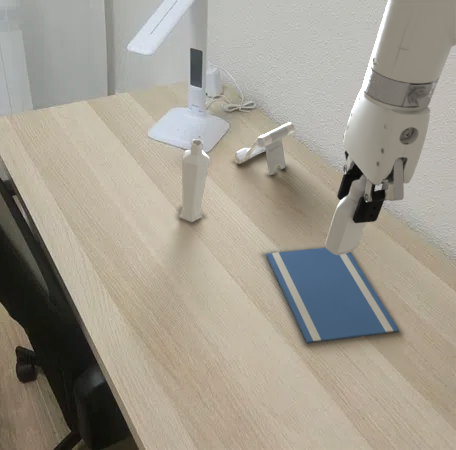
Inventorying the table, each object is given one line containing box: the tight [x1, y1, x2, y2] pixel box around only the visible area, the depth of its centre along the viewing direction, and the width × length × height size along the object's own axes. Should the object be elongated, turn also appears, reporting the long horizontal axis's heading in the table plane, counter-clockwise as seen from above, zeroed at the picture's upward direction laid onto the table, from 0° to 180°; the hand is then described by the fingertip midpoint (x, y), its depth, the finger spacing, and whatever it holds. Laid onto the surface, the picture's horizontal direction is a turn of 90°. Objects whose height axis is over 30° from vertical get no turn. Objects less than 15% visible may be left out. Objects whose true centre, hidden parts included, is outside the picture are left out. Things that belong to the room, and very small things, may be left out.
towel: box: [265, 247, 400, 344], centre depth 85 cm, size 14×18×1 cm
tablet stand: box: [234, 122, 296, 176], centre depth 108 cm, size 9×8×8 cm
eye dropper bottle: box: [324, 174, 368, 255], centre depth 75 cm, size 4×6×12 cm
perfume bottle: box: [179, 138, 211, 223], centre depth 93 cm, size 5×4×15 cm
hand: (356, 208), depth 74 cm, fingers closed on eye dropper bottle, 4 cm apart
